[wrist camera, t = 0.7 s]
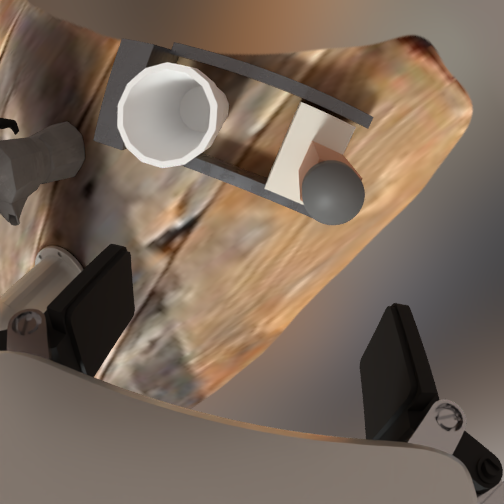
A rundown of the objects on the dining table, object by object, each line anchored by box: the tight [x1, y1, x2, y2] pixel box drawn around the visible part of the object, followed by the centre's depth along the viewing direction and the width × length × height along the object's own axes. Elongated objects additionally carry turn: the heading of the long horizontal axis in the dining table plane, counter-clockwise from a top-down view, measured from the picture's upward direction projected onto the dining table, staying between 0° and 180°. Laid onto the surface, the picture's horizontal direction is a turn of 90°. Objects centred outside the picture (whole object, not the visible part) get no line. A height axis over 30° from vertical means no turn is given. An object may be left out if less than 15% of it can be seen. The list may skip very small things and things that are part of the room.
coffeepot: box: [0, 118, 85, 226], centre depth 32 cm, size 15×9×18 cm, turn 23°
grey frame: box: [93, 39, 373, 219], centre depth 33 cm, size 14×28×8 cm, turn 69°
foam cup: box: [117, 62, 229, 168], centre depth 31 cm, size 10×9×13 cm
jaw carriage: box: [264, 102, 365, 225], centre depth 29 cm, size 10×6×18 cm, turn 159°
